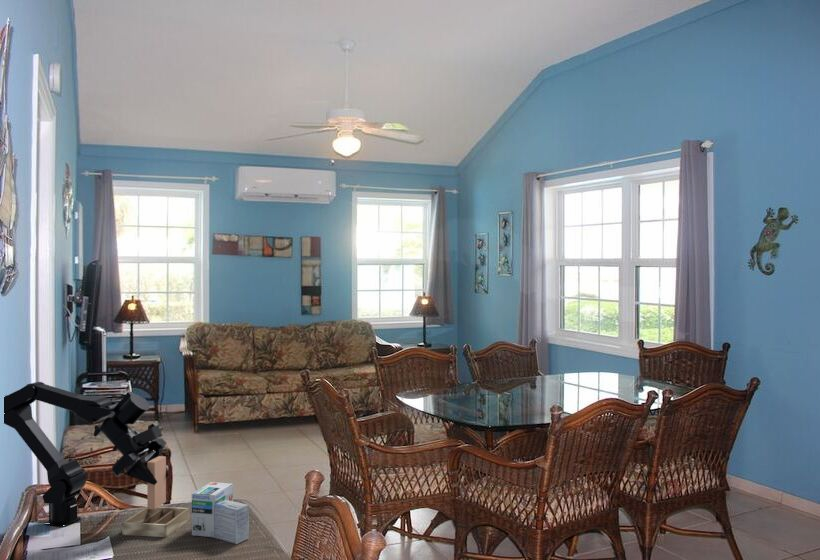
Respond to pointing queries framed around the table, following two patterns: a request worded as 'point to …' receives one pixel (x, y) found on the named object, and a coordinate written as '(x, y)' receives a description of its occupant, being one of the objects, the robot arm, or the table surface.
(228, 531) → the medicine box
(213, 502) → the light bulb box
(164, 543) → the table surface
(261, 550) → the table surface
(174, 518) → the slot box
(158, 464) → the rectangular block
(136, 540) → the table surface
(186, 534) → the table surface
